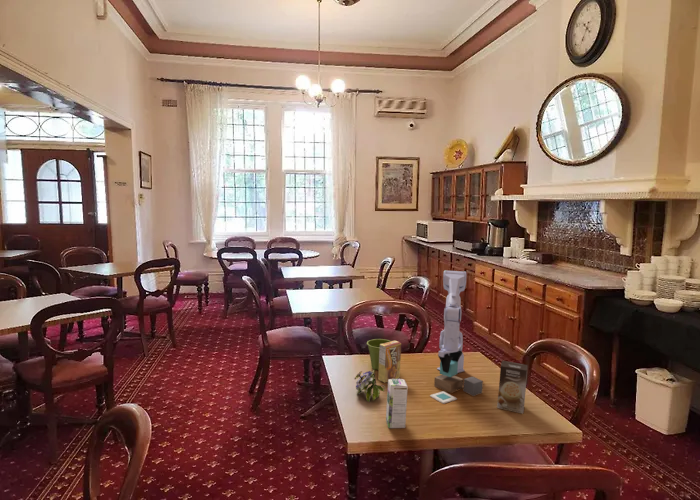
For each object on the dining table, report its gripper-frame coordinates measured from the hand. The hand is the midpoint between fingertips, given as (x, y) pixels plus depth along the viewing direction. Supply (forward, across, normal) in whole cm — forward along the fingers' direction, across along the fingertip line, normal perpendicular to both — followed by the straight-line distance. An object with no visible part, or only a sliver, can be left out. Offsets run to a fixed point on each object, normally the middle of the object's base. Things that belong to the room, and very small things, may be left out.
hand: (449, 370), depth 174 cm
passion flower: (+7, +29, -17) cm, 34 cm away
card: (+7, +10, +4) cm, 13 cm away
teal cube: (+2, 0, 0) cm, 2 cm away
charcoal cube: (+7, -3, +9) cm, 12 cm away
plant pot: (+7, +5, -32) cm, 33 cm away
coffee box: (+7, -2, +25) cm, 26 cm away
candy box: (+7, +12, -21) cm, 25 cm away
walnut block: (+7, 0, 0) cm, 7 cm away
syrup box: (+7, +39, +4) cm, 40 cm away
